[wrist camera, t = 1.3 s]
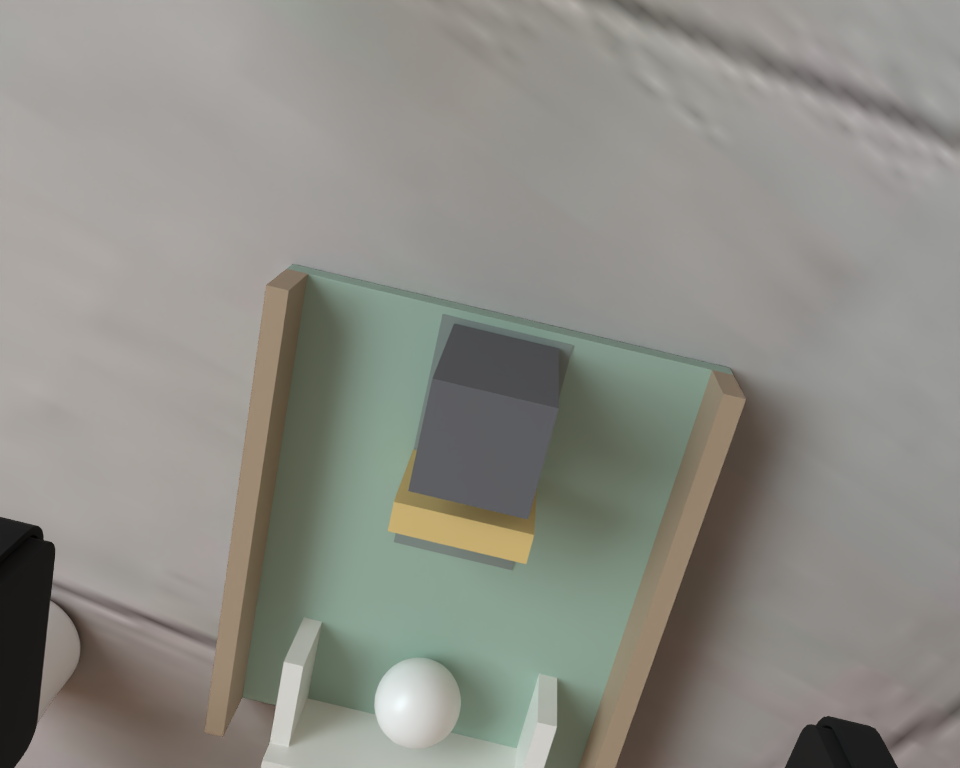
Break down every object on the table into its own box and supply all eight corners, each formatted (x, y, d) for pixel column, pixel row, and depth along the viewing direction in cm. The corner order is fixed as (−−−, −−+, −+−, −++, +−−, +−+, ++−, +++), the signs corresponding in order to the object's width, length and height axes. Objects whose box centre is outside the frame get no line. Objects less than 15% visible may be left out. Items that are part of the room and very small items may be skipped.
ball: (445, 775, 37) (458, 702, 40) (460, 724, 35) (473, 650, 38) (360, 755, 37) (380, 683, 40) (371, 703, 35) (390, 631, 38)
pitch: (729, 367, 34) (746, 399, 31) (592, 767, 41) (594, 825, 38) (293, 264, 34) (266, 285, 31) (231, 681, 41) (204, 732, 38)
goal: (557, 677, 39) (556, 745, 35) (529, 765, 40) (526, 838, 37) (303, 617, 39) (276, 678, 35) (287, 708, 40) (259, 775, 37)
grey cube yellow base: (572, 351, 33) (574, 412, 28) (530, 505, 36) (524, 589, 30) (440, 320, 33) (416, 374, 28) (407, 475, 36) (378, 555, 30)
